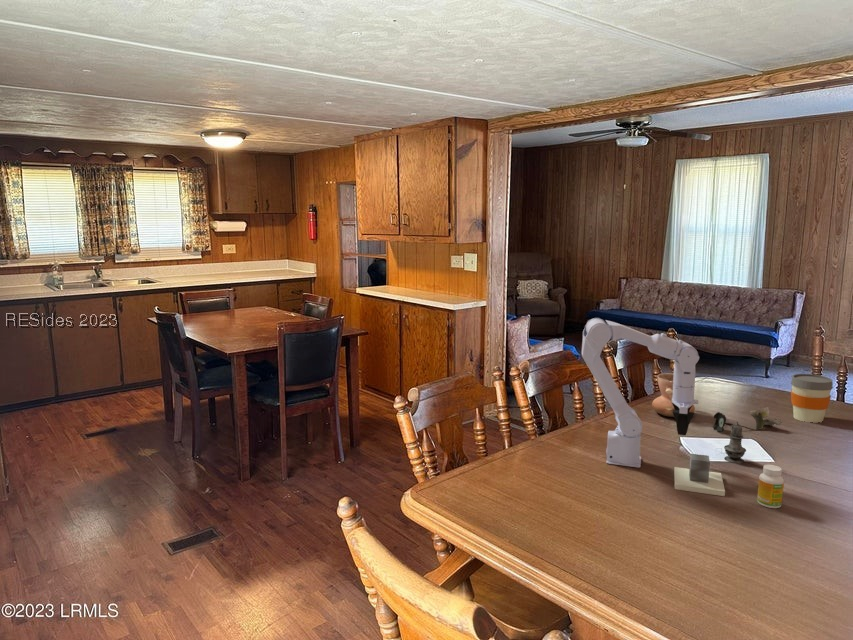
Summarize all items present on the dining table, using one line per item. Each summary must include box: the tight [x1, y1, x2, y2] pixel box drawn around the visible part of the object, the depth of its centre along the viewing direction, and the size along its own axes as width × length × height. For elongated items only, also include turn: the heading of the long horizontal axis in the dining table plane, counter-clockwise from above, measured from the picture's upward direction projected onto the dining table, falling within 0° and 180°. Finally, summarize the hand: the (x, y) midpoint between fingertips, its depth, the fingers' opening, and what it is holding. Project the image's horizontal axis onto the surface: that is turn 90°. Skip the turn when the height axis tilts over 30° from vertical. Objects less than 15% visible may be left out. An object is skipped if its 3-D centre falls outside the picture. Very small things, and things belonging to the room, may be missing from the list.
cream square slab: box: [673, 466, 726, 497], centre depth 164 cm, size 12×12×2 cm
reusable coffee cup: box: [790, 373, 834, 424], centre depth 214 cm, size 13×13×15 cm
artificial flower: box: [712, 406, 783, 433], centre depth 205 cm, size 9×22×10 cm, turn 94°
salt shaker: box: [723, 421, 747, 464], centre depth 178 cm, size 6×6×12 cm
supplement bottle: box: [756, 464, 785, 509], centre depth 151 cm, size 5×5×10 cm
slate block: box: [688, 453, 711, 483], centre depth 163 cm, size 4×4×6 cm
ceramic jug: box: [651, 372, 696, 418], centre depth 220 cm, size 18×14×14 cm
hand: (681, 430), depth 175 cm, fingers open, 7 cm apart
